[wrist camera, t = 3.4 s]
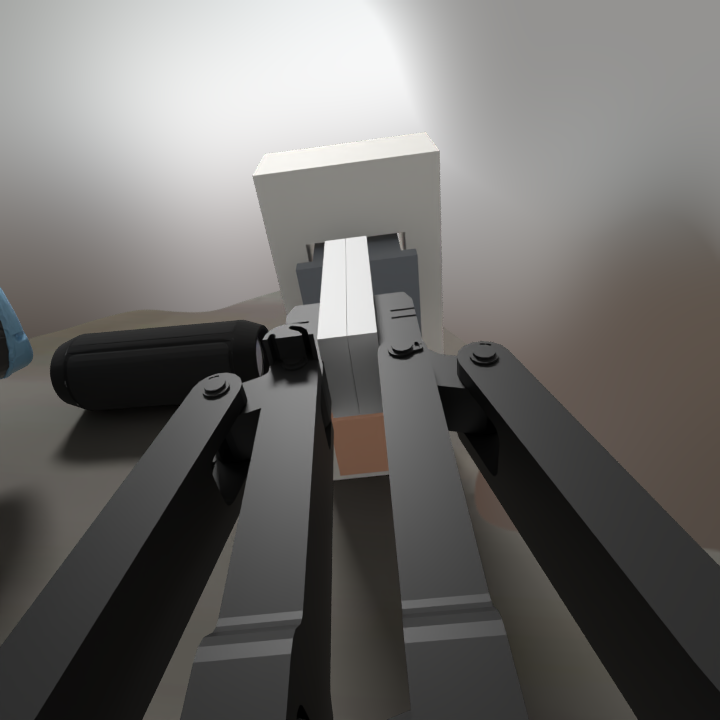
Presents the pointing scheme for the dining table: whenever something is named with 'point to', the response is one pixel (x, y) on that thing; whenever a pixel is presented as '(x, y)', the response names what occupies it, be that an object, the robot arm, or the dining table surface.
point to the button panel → (356, 213)
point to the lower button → (360, 444)
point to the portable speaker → (154, 363)
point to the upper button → (386, 266)
